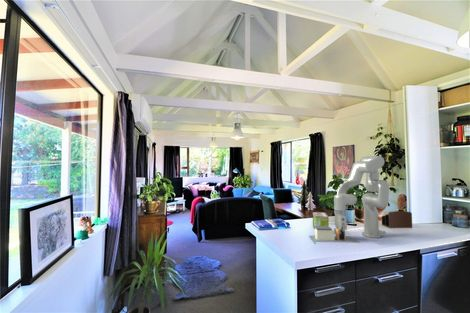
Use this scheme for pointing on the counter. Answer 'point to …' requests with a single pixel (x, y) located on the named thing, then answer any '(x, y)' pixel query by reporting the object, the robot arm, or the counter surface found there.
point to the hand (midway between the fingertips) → (340, 238)
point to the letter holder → (397, 219)
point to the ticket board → (347, 240)
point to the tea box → (320, 219)
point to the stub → (338, 233)
